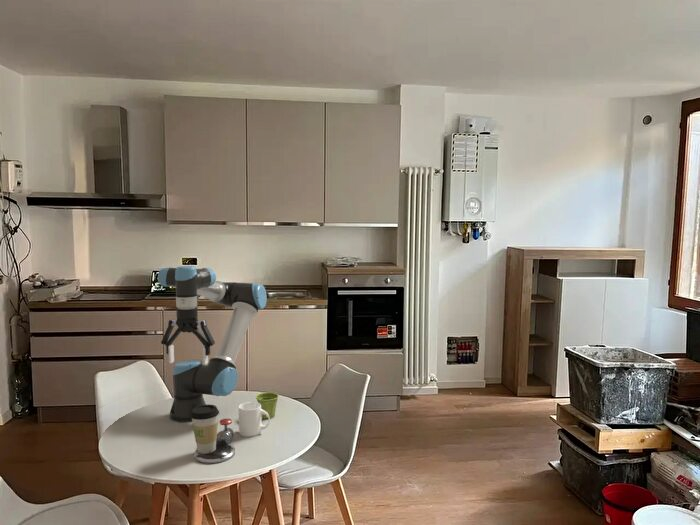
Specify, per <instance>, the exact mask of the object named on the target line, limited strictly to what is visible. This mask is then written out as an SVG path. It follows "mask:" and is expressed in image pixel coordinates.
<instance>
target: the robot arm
mask: <svg viewBox="0 0 700 525" xmlns="http://www.w3.org/2000/svg"><path fill="white" fill-rule="evenodd" d="M157 274H158V275H157V282H158V283H159V285H160V286H162V287H167V288H169V287H170V288H175V303H176V304H175V306H176V311H175V314H176V319H174V318H172V319H169V320H168V325H167V328H166V331H165V333H164V335H163V336H162V339H161V341H160V343H161V345H165V347H166V348H165V350H166V355H168V364H172V363H174V362H175V347H174V344H173V343H174V341H175V340H177V337H178V336H180V334H181V333H187V334H189V333H192V334H193V335H195V336H196V338H197V339H198V340H199V341H200V343H202V345H203V347H202V357H203V358H202V359H194V358H193V359H187V360H184V361H180V362H178V363H175V364H174V366H173V369H172V370H173V372H172V379H173V380H172V382H173V383H172V384H173V401H172V403H171V408H170V411H169V418H170V419H171V421H174V422H177V423H178V422H179V423H189V422H190V423H192V418H191V417H190V415H191V412H192V409H193V408H195V407H197V406H200V405H207V403H206V401H205V398H204V395H209V396H215V397H219V396H220V397H226V396H229V395H231V394H232V393H233V391H234V390H235V388H236V387H237V385H238V381H239V379H238V378H239V373H238V370H237V366H236V364H235V363H236V360H237V357H238V355H239V353H240V350H241V348H242V344H243V341H244V339H245V337H246V334H247V331H248V329H249V326H250V324H251V321H252V318H253V317H255V316H257V314H258V312H259V310H264V309H265V308H266V305H267V300H268V298H267V297H268V296H267V291H266V288H265V286H264V285H263V284H262V283H256V282H253V283H252V282H250V283H249V282H236V281H235V282H233V281H219V280H217V275H216V272H215V270H213V269H212V268H209V267H201V268H197V267H196V266H194V265H180V266H177V267H171V266H169V267H163V268H161V269H160V270H159V271H158V273H157ZM198 296H202V297H204V298H207V299H208V300H209V301H210V302H213V303H216V304H219V305H220V306H221V305H222V306H225V307H228V308H232V310H233V311H232V314H231V316H230V319H229V322H228V324H227V326H226V329H225V331H224V333H223V336H222V339H221V340H220V344H219V346H218V349H217V351H216V352H215V355H214V356H213V357H210V359H209V355H211V347H212V346H213V345H215V344H216V341H215V340H214V338H213V336H212V334H211V331H210V330H209V328H208V324H207V320H205V319H203V320H199V319H198V318H199V315H198V307H197V306H198ZM175 326H177V329H176V330H175V331H174V333H173V334H172V331H173V330H174V328H175ZM198 326H199V327H200V328H199V327H198ZM200 330H201V331H200ZM171 334H172V335H171ZM170 336H171V337H170Z"/></svg>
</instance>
